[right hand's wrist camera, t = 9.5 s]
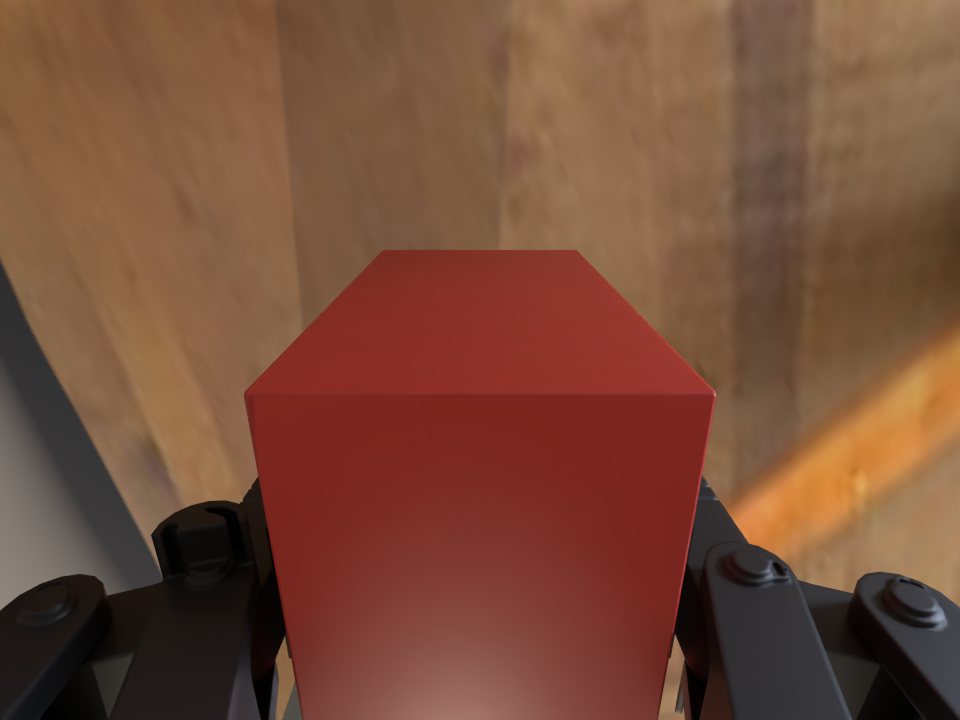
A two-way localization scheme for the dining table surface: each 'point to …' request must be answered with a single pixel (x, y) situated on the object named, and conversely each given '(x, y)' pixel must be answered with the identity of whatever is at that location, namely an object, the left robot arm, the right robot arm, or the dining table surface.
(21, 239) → the dining table surface
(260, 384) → the block
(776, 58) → the dining table surface
